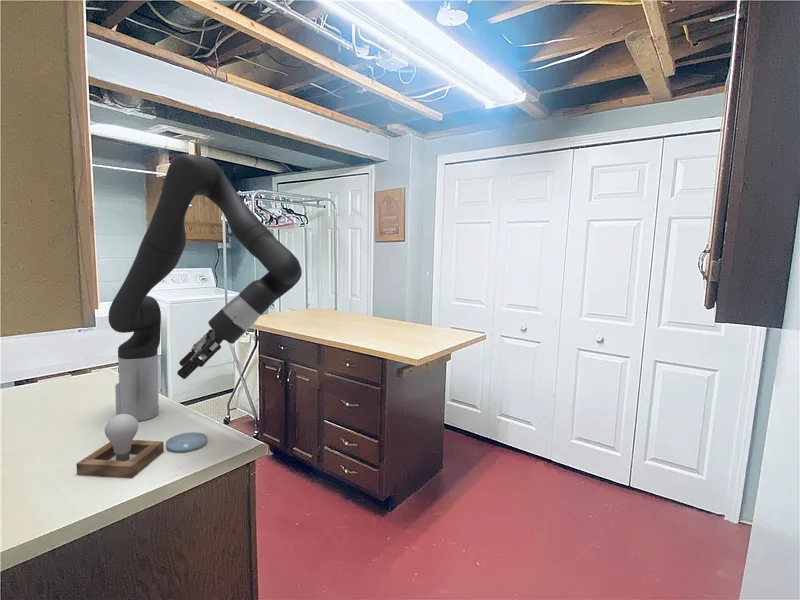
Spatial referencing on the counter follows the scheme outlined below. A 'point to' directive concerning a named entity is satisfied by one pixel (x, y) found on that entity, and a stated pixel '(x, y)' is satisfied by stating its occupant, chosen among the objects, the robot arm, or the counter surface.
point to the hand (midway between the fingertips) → (181, 370)
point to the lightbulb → (121, 434)
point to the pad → (186, 442)
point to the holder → (126, 469)
